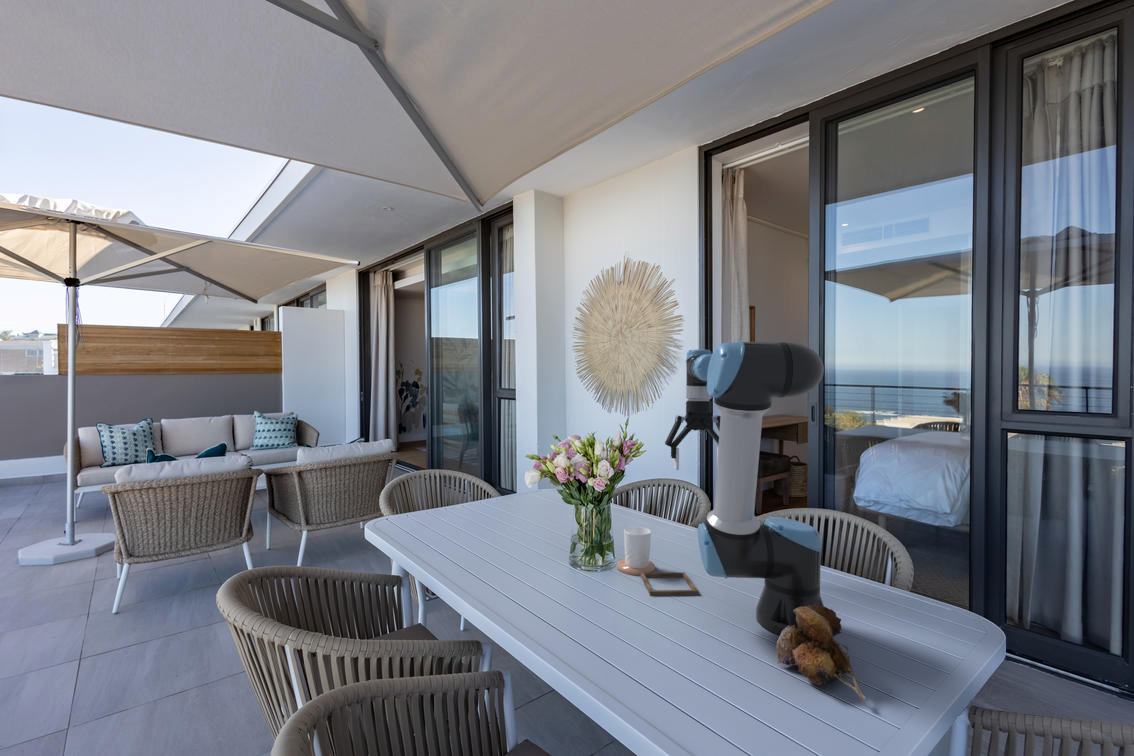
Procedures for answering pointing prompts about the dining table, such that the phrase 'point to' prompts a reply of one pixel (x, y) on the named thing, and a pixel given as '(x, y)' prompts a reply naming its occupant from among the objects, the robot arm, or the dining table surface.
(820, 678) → the seed pod
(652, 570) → the peach flat disc
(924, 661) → the dining table surface
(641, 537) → the white cup
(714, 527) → the robot arm
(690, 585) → the walnut tray frame
